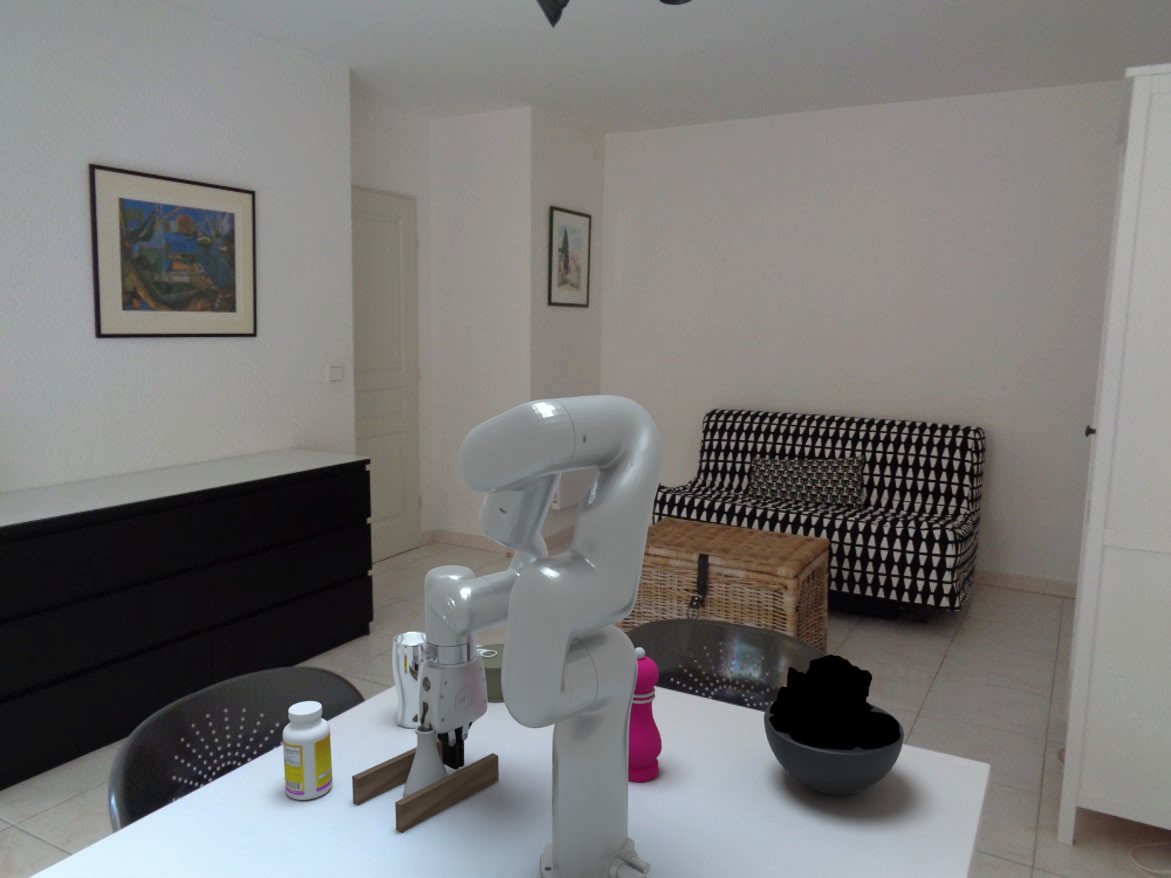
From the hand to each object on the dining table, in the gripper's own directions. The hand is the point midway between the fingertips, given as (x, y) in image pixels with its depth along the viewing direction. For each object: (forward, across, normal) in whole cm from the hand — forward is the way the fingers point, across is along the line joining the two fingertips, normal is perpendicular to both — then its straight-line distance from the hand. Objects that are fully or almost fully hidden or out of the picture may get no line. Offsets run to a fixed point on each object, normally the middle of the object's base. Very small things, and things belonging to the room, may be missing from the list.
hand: (453, 764), depth 130 cm
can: (+2, +27, +19) cm, 33 cm away
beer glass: (+2, +8, +20) cm, 22 cm away
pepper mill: (+2, +20, -20) cm, 28 cm away
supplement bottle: (+2, -16, +14) cm, 21 cm away
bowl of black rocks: (+2, +36, -44) cm, 57 cm away
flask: (+2, -5, 0) cm, 6 cm away
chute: (+2, -5, 0) cm, 5 cm away
